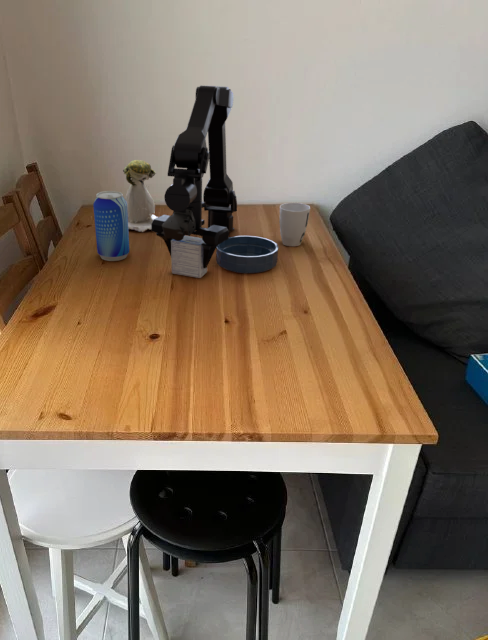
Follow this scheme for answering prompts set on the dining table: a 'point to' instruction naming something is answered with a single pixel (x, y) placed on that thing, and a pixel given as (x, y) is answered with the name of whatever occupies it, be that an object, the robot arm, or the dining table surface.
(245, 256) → the bowl
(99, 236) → the beer can
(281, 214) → the cup
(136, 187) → the white figurine
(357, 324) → the dining table surface
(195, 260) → the medicine box
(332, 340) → the dining table surface
